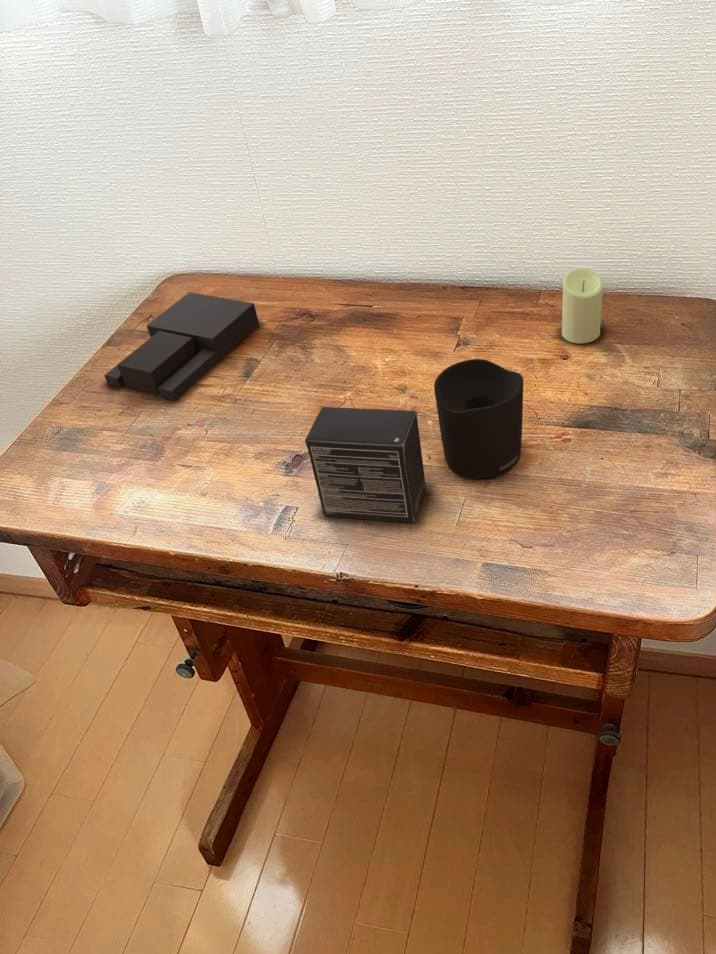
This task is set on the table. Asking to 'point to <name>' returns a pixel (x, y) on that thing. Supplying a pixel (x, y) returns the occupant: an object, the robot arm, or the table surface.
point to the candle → (581, 305)
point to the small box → (367, 463)
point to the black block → (156, 361)
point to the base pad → (199, 336)
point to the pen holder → (480, 418)
